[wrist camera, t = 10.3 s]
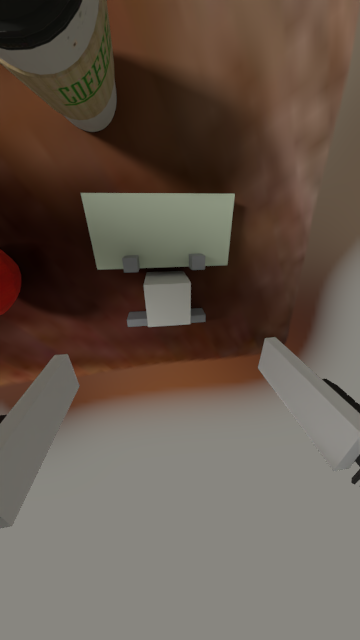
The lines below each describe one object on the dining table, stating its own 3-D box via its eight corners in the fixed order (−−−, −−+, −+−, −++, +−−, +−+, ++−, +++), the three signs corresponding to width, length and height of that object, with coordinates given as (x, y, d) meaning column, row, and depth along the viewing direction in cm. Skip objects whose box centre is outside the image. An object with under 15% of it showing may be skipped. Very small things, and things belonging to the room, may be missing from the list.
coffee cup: (146, 144, 20) (125, -21, 7) (60, 162, 20) (-129, 30, 7) (115, -4, 16) (-124, -1327, 2) (4, 18, 16) (-912, -1247, 2)
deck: (114, 319, 29) (106, 337, 24) (90, 197, 22) (70, 188, 17) (215, 313, 31) (226, 329, 26) (225, 198, 23) (243, 189, 18)
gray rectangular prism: (146, 272, 27) (143, 285, 20) (183, 270, 27) (190, 283, 21) (150, 306, 29) (148, 327, 23) (183, 304, 30) (190, 324, 23)
